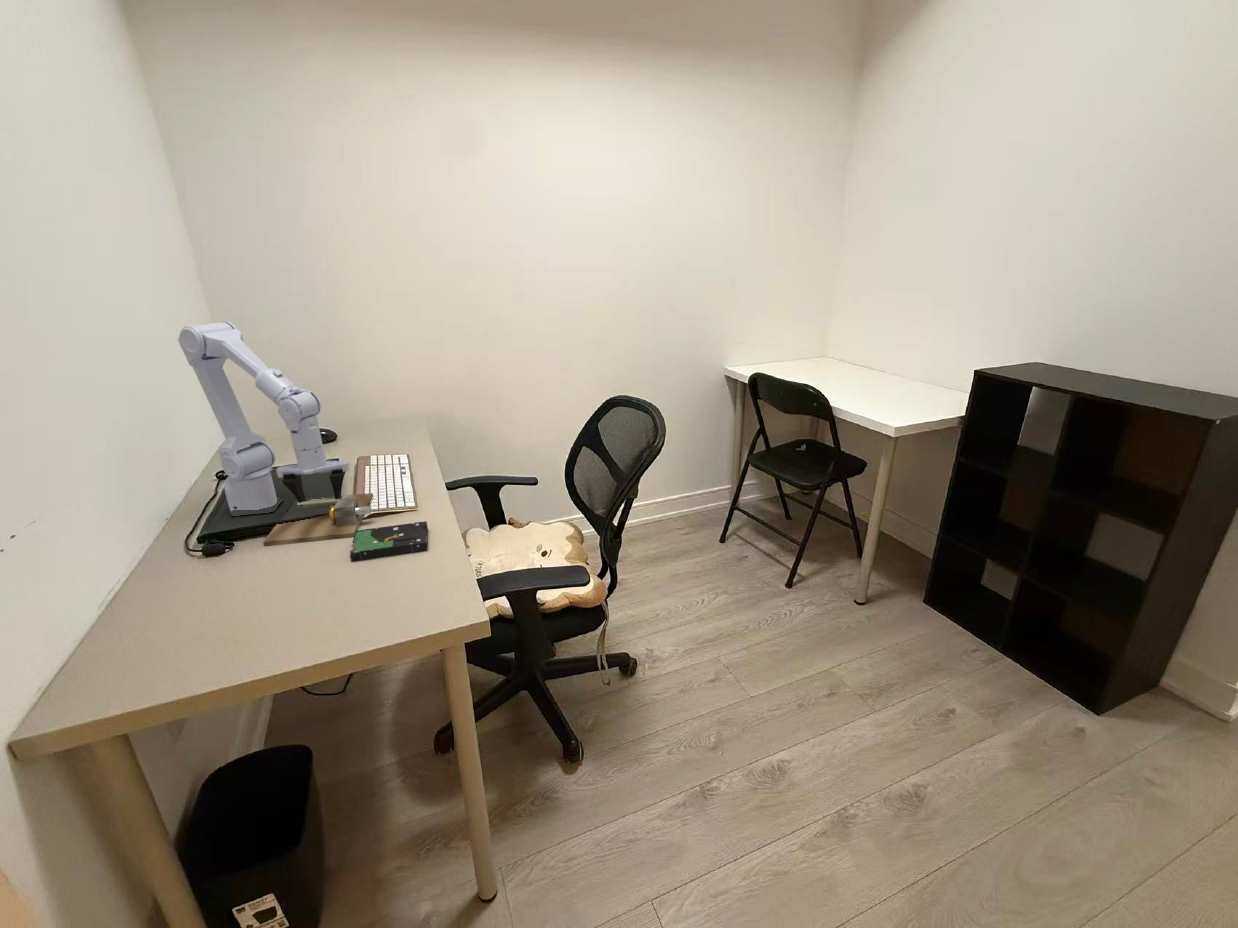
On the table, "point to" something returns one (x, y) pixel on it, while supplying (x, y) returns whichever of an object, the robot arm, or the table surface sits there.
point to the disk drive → (389, 541)
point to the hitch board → (322, 523)
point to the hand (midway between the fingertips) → (321, 502)
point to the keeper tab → (318, 503)
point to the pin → (357, 511)
